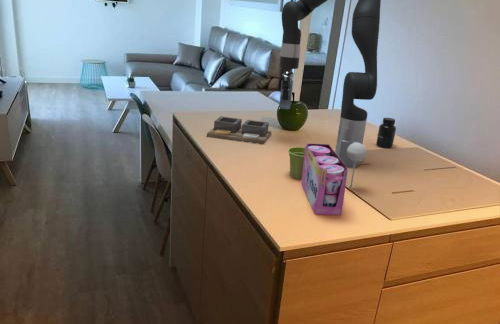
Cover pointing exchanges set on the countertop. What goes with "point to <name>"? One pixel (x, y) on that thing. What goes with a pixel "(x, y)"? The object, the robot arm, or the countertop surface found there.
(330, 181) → the gum box
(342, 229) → the countertop surface
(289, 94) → the plug
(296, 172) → the plant pot
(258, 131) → the socket board
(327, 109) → the countertop surface
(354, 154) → the lollipop
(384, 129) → the supplement bottle
